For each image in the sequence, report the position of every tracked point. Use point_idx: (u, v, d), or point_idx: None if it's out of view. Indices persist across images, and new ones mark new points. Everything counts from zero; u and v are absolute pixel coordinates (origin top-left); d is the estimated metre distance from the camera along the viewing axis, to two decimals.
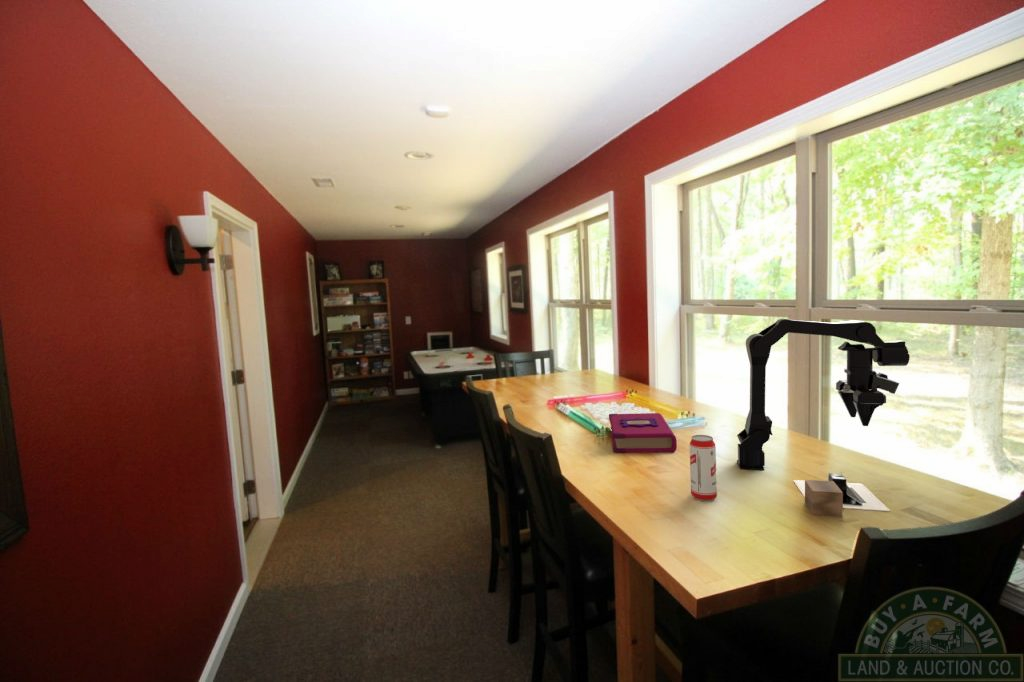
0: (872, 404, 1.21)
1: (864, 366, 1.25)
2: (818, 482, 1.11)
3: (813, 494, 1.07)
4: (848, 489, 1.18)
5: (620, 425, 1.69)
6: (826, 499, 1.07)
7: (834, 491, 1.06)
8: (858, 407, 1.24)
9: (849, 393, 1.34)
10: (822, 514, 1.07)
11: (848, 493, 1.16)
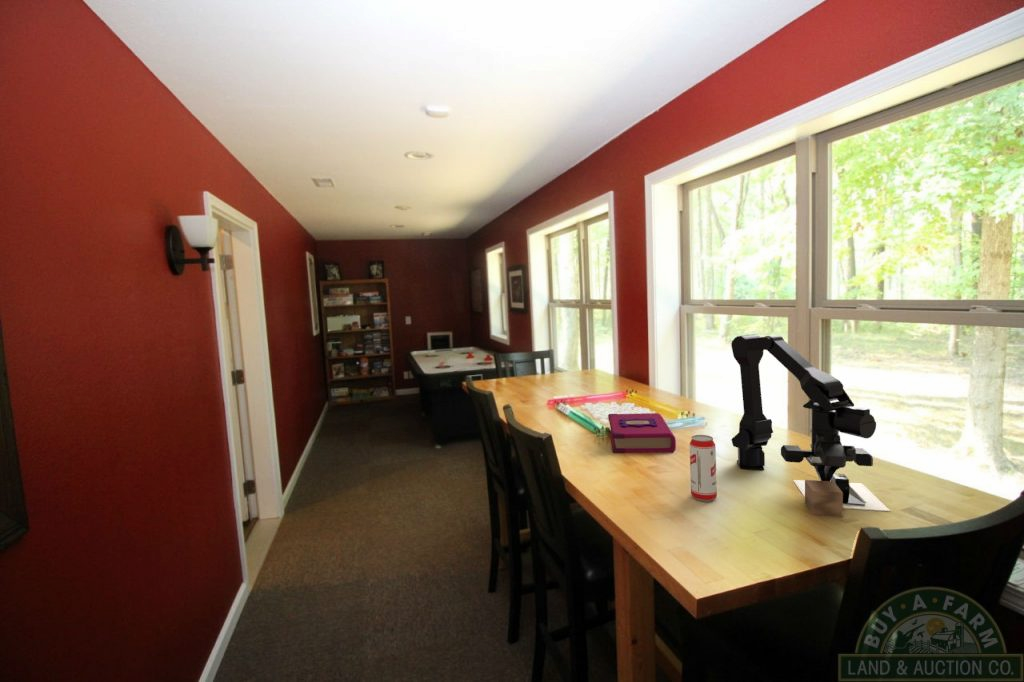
0: (808, 461, 1.18)
1: (817, 428, 1.16)
2: (818, 482, 1.11)
3: (813, 494, 1.07)
4: (850, 489, 1.18)
5: (619, 425, 1.69)
6: (826, 499, 1.07)
7: (834, 491, 1.06)
8: None
9: None
10: (822, 514, 1.07)
11: (851, 493, 1.15)
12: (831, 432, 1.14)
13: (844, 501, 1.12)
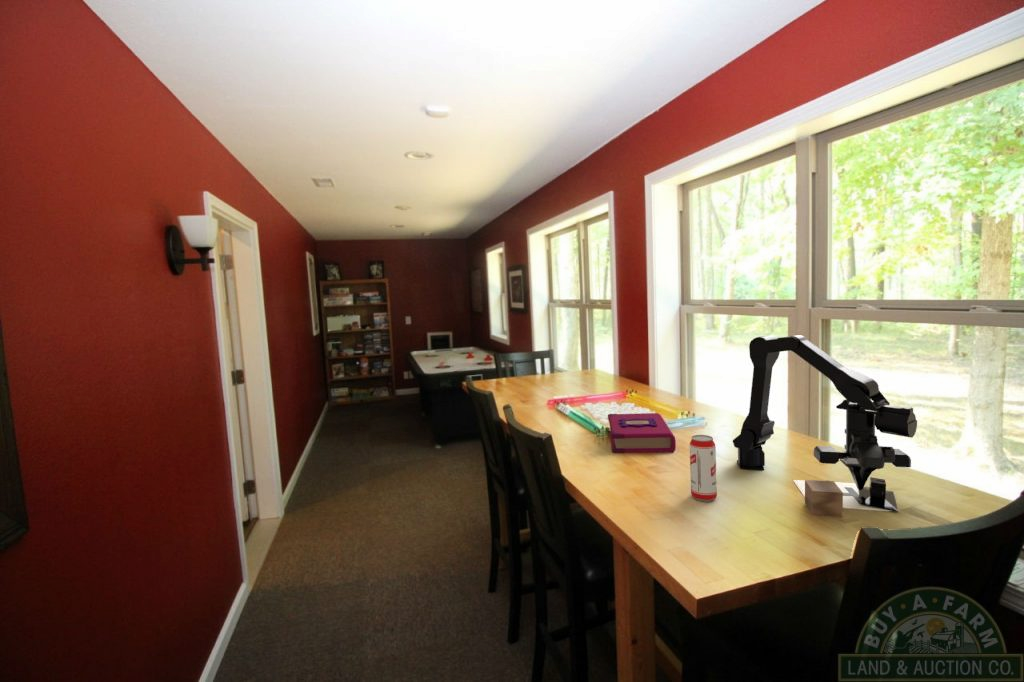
0: (843, 462, 1.16)
1: (856, 429, 1.13)
2: (818, 482, 1.11)
3: (813, 494, 1.07)
4: (891, 496, 1.14)
5: (619, 425, 1.69)
6: (826, 499, 1.07)
7: (834, 491, 1.06)
8: None
9: None
10: (822, 514, 1.07)
11: (888, 499, 1.11)
12: (867, 432, 1.12)
13: (875, 505, 1.09)
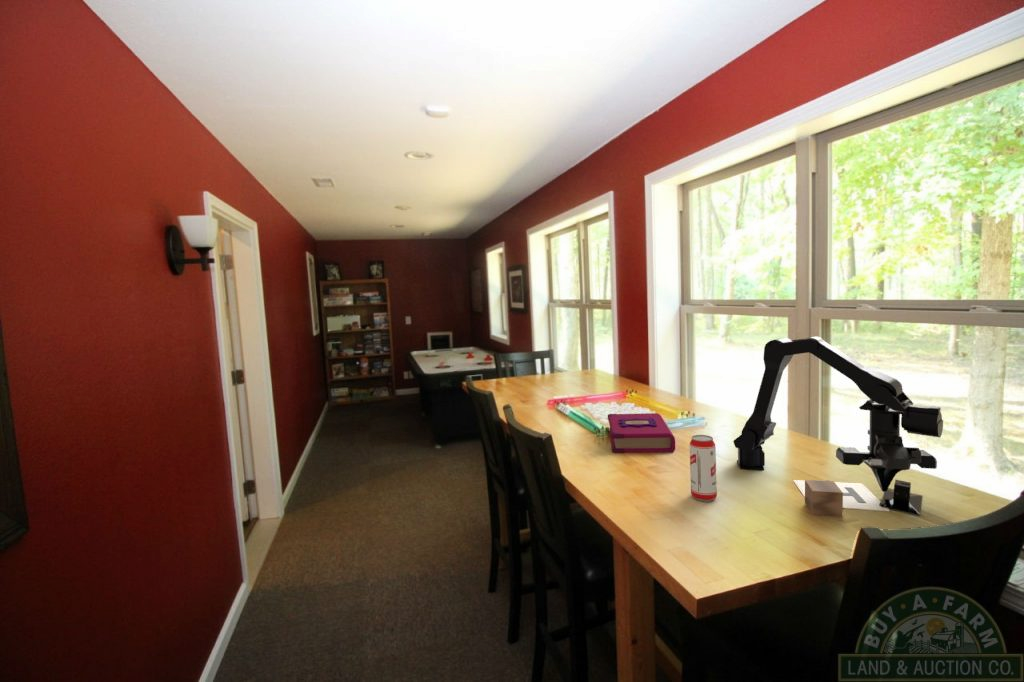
0: (867, 463, 1.15)
1: (882, 430, 1.11)
2: (818, 482, 1.11)
3: (813, 494, 1.07)
4: (918, 500, 1.11)
5: (619, 425, 1.69)
6: (826, 499, 1.07)
7: (834, 491, 1.06)
8: None
9: None
10: (822, 514, 1.07)
11: (912, 502, 1.09)
12: (892, 433, 1.10)
13: (896, 507, 1.08)
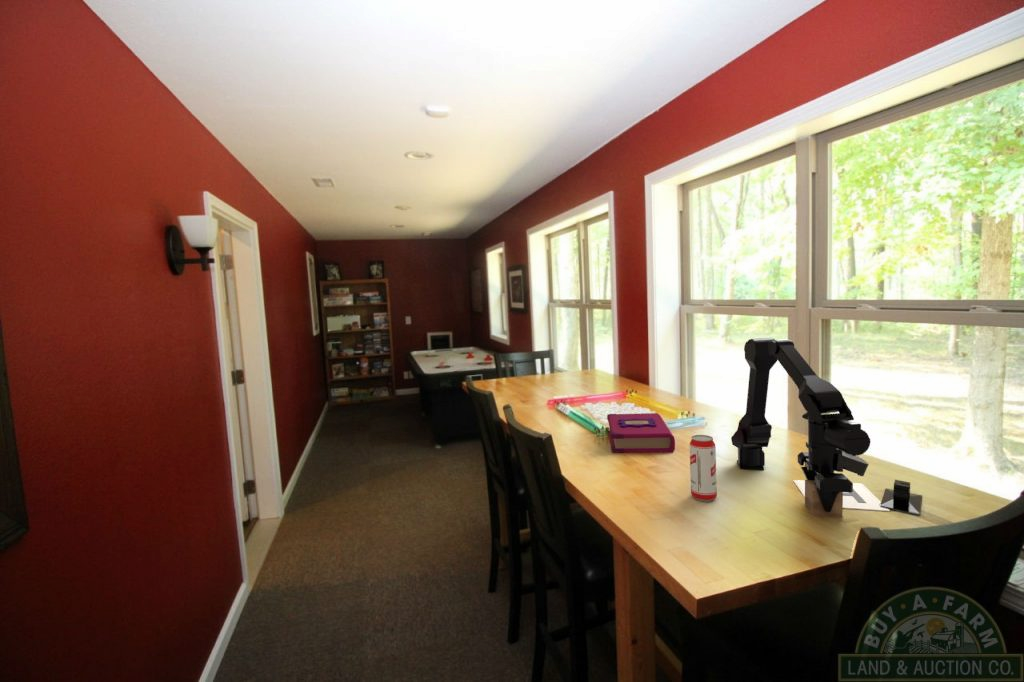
0: None
1: (811, 441, 1.08)
2: None
3: (813, 494, 1.07)
4: (918, 499, 1.11)
5: (618, 425, 1.69)
6: None
7: None
8: (819, 491, 1.05)
9: (814, 471, 1.13)
10: (822, 514, 1.07)
11: (912, 502, 1.09)
12: None
13: (896, 507, 1.08)
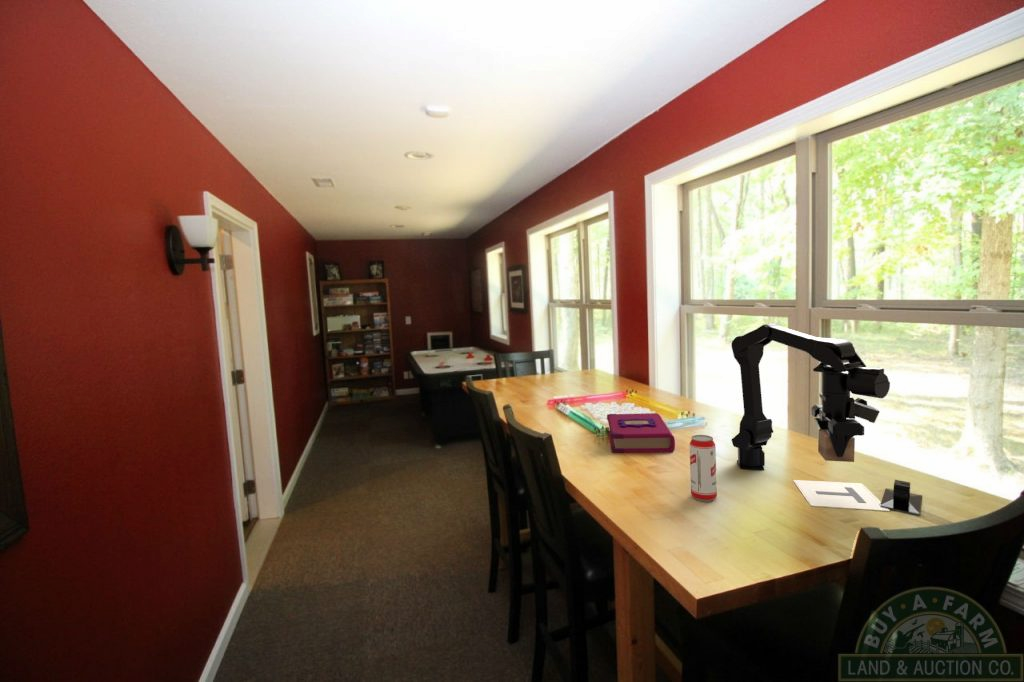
0: None
1: (829, 391, 1.13)
2: None
3: (826, 440, 1.14)
4: (918, 499, 1.11)
5: (618, 425, 1.69)
6: None
7: None
8: (832, 436, 1.11)
9: (827, 421, 1.19)
10: (834, 459, 1.14)
11: (912, 502, 1.09)
12: None
13: (896, 507, 1.08)
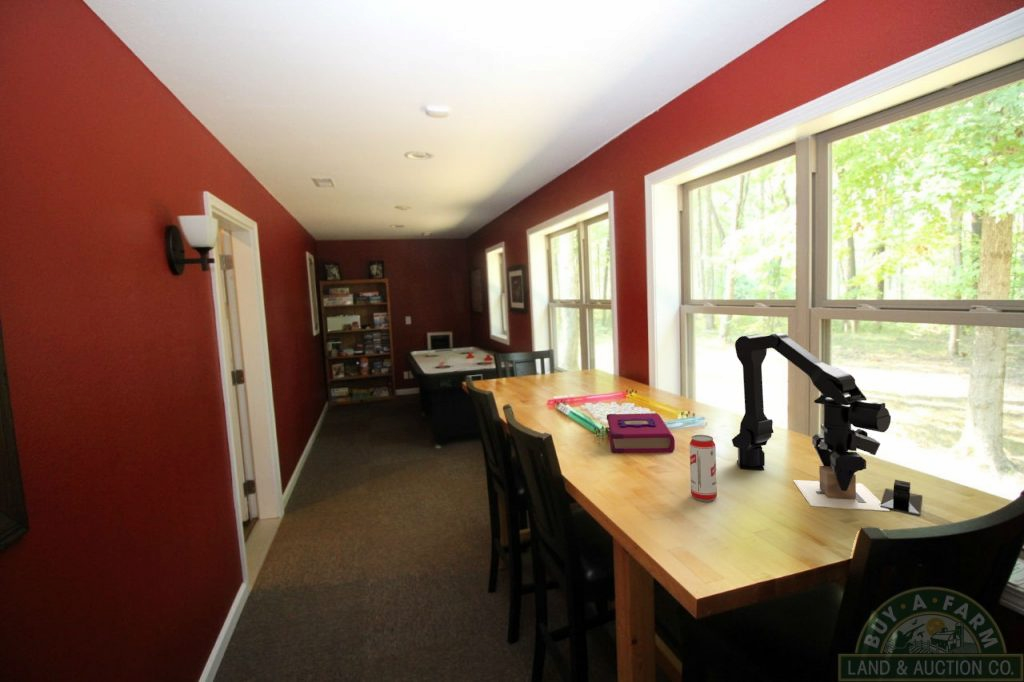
0: (851, 468, 1.09)
1: (831, 423, 1.15)
2: None
3: (828, 477, 1.15)
4: (918, 499, 1.11)
5: (618, 425, 1.69)
6: None
7: None
8: (836, 471, 1.11)
9: (826, 450, 1.22)
10: (837, 496, 1.15)
11: (912, 502, 1.09)
12: None
13: (896, 507, 1.08)
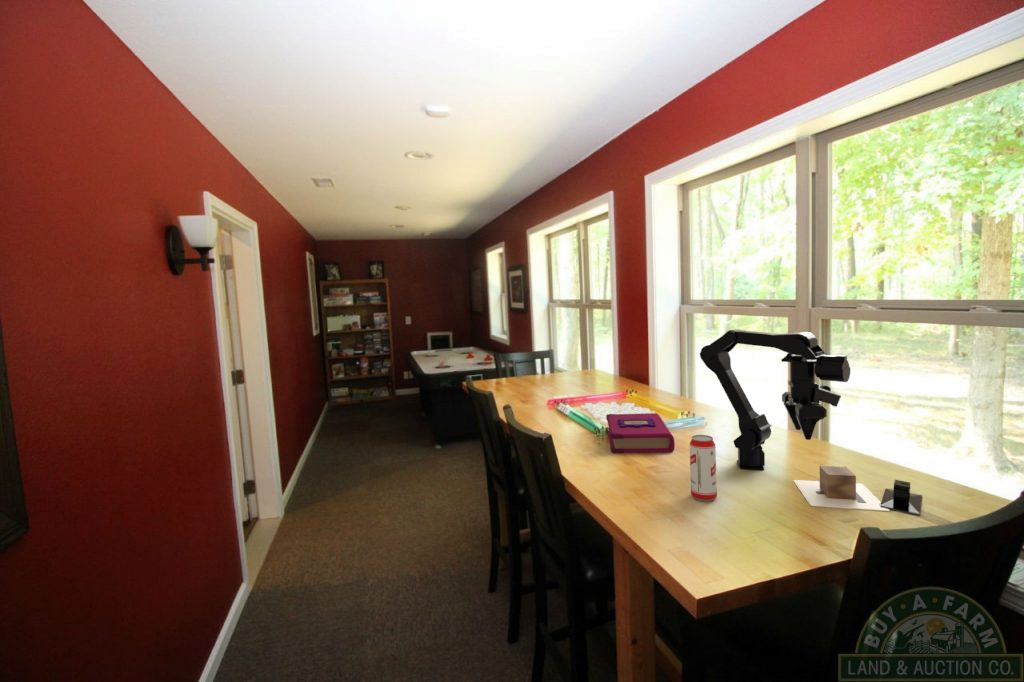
0: (813, 417, 1.19)
1: (799, 378, 1.24)
2: (832, 467, 1.19)
3: (828, 477, 1.15)
4: (918, 499, 1.11)
5: (618, 425, 1.69)
6: (840, 482, 1.14)
7: (848, 475, 1.14)
8: (800, 421, 1.21)
9: (794, 405, 1.32)
10: (837, 496, 1.15)
11: (912, 502, 1.09)
12: None
13: (896, 507, 1.08)
